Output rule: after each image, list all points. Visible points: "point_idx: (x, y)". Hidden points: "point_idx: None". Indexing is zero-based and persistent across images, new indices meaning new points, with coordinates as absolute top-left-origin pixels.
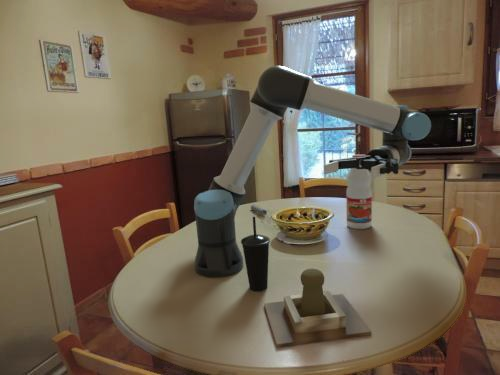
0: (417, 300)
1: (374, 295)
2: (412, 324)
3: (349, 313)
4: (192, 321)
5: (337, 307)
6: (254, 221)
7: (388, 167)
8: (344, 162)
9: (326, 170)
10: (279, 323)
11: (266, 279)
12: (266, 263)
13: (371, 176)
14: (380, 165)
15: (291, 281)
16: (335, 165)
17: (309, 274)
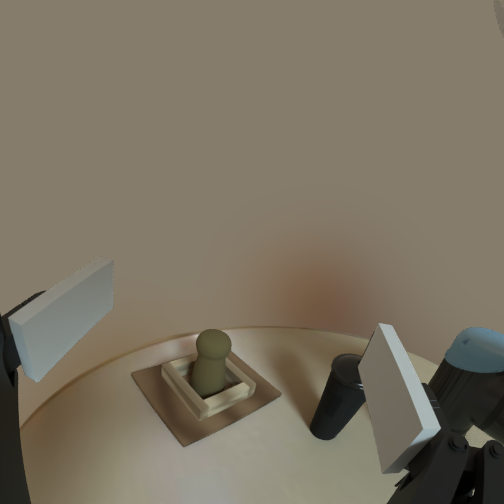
0: (60, 450)
1: (130, 460)
2: (80, 397)
3: (161, 399)
4: (324, 355)
5: (175, 377)
6: (371, 338)
7: (4, 319)
8: (405, 498)
9: (366, 351)
10: (238, 367)
11: (315, 419)
12: (322, 399)
13: (112, 299)
14: (54, 286)
15: (291, 465)
16: (396, 413)
17: (215, 330)
